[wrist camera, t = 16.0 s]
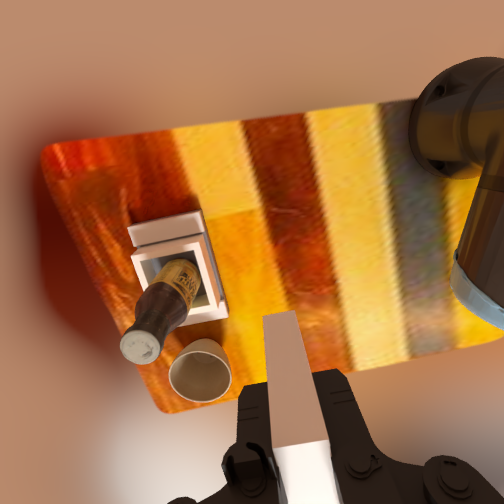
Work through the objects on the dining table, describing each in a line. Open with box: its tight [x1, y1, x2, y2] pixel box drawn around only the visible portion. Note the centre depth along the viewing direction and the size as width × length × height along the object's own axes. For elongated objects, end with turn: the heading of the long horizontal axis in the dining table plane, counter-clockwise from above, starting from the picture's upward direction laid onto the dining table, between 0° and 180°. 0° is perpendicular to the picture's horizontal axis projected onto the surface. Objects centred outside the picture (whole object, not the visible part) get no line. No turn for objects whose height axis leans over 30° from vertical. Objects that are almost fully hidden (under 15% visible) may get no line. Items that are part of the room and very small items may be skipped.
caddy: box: [128, 209, 229, 327], centre depth 48 cm, size 11×18×6 cm, turn 12°
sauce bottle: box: [120, 258, 201, 364], centre depth 40 cm, size 6×6×20 cm
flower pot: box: [169, 338, 232, 402], centre depth 52 cm, size 10×10×7 cm
